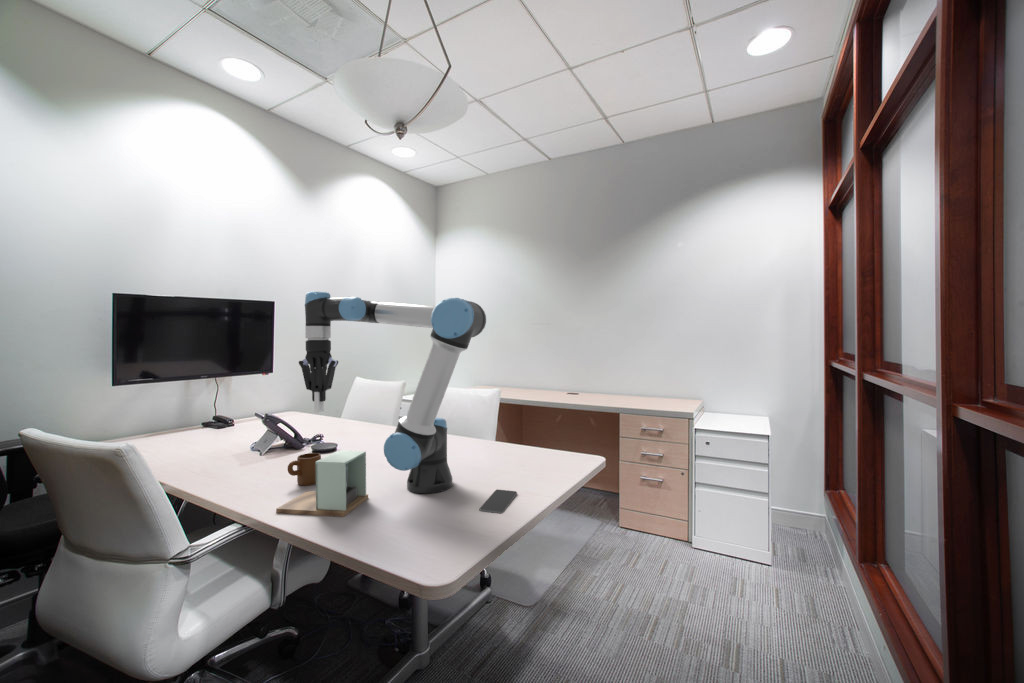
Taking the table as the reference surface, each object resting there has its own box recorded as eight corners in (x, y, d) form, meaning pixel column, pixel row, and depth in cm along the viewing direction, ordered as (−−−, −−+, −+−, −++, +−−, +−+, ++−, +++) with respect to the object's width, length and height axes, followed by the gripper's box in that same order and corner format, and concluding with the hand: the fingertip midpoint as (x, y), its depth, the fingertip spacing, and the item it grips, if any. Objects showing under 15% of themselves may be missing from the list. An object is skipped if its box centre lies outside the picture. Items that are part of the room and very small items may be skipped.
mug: (296, 491, 137) (295, 463, 137) (280, 488, 140) (280, 460, 140) (326, 480, 148) (325, 454, 148) (311, 477, 151) (310, 451, 151)
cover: (366, 495, 130) (365, 451, 130) (345, 510, 118) (344, 462, 118) (339, 493, 131) (339, 450, 131) (316, 509, 119) (315, 461, 119)
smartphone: (478, 509, 120) (495, 489, 135) (478, 513, 120) (496, 492, 135) (502, 512, 118) (517, 491, 133) (502, 515, 118) (517, 494, 133)
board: (368, 498, 131) (368, 483, 131) (343, 516, 117) (343, 500, 117) (307, 494, 134) (307, 480, 134) (276, 512, 120) (276, 496, 120)
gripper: (343, 339, 139) (343, 409, 139) (307, 339, 141) (308, 409, 141) (330, 339, 132) (330, 413, 132) (292, 339, 134) (293, 413, 134)
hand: (319, 411), depth 136 cm, fingers closed
